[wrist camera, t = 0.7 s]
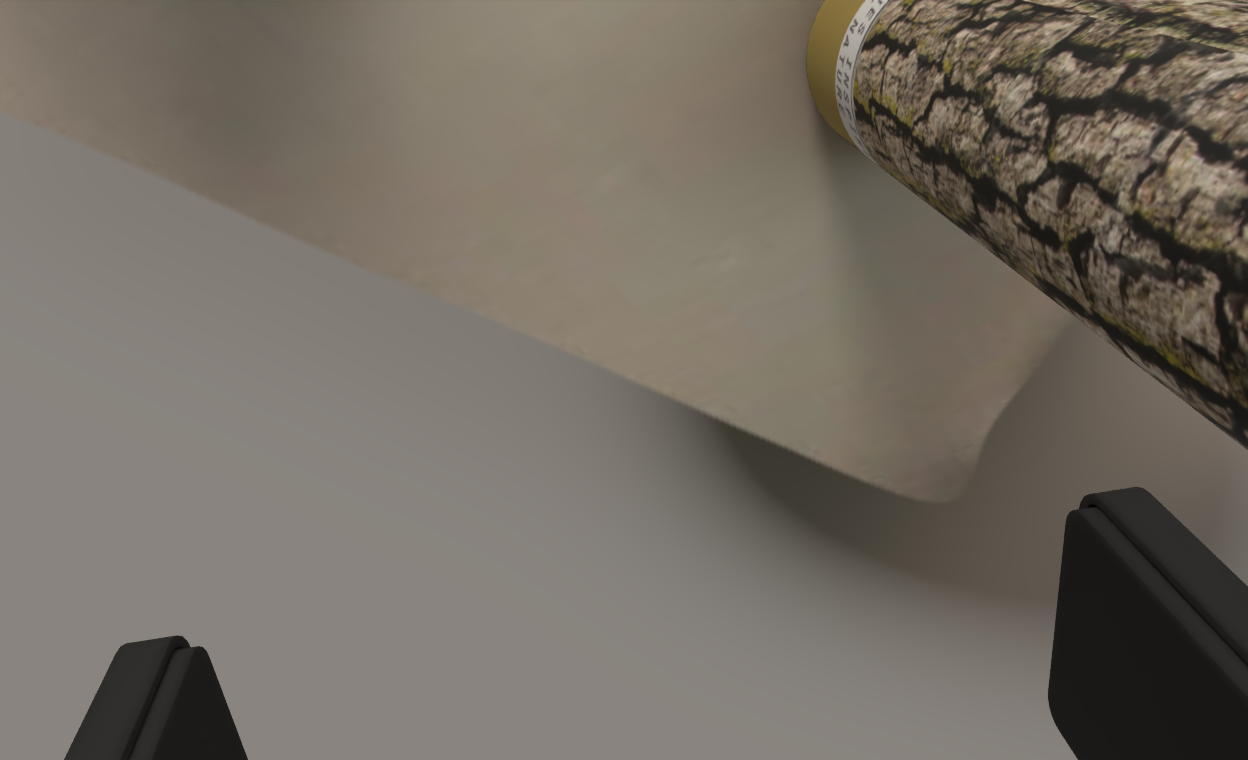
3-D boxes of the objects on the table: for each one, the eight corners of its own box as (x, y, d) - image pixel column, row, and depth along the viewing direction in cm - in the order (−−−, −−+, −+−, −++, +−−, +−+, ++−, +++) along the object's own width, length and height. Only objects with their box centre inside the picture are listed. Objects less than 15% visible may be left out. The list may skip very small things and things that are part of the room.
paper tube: (848, 181, 38) (1345, 620, 16) (767, 14, 35) (1237, 262, 13) (1016, 83, 37) (1799, 402, 15) (947, -97, 34) (1793, -38, 12)
